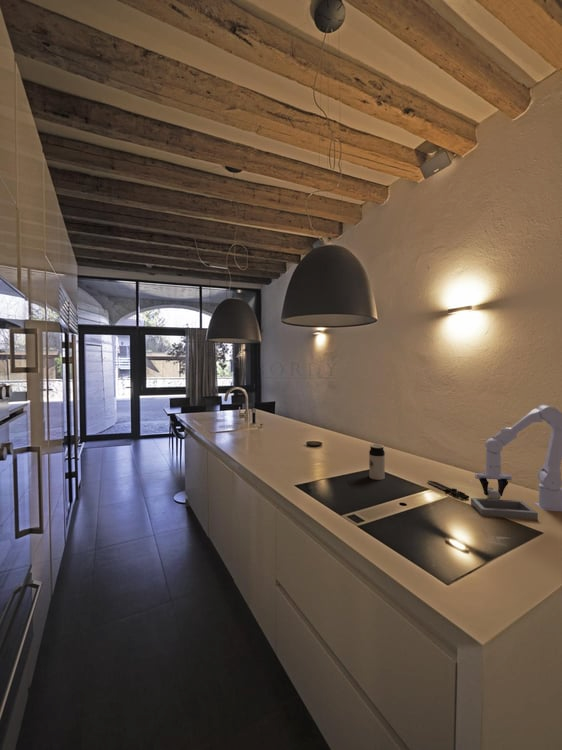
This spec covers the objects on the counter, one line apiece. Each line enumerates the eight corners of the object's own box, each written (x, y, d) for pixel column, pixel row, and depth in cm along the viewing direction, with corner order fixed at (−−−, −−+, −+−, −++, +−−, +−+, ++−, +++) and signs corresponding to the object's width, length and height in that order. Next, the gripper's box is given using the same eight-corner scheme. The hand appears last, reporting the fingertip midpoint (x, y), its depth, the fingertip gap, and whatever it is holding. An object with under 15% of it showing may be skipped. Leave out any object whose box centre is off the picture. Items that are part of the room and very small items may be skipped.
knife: (425, 481, 176) (425, 479, 176) (436, 481, 177) (436, 479, 177) (458, 499, 151) (458, 496, 151) (471, 499, 152) (471, 496, 152)
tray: (521, 507, 144) (521, 500, 143) (537, 520, 132) (537, 512, 132) (470, 504, 147) (470, 497, 147) (481, 516, 135) (482, 509, 135)
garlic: (482, 498, 154) (482, 487, 154) (488, 495, 157) (488, 484, 157) (497, 502, 149) (497, 491, 149) (502, 500, 152) (503, 488, 152)
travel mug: (381, 475, 187) (381, 443, 186) (386, 480, 179) (386, 447, 178) (367, 476, 186) (367, 444, 186) (372, 481, 178) (372, 447, 178)
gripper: (506, 463, 155) (506, 492, 155) (472, 462, 158) (472, 490, 158) (514, 468, 148) (514, 498, 148) (478, 466, 151) (478, 496, 151)
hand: (493, 494), depth 153 cm, fingers closed on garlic, 5 cm apart
